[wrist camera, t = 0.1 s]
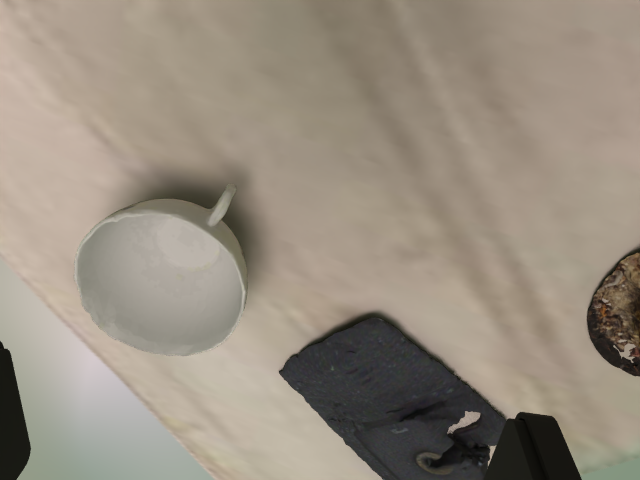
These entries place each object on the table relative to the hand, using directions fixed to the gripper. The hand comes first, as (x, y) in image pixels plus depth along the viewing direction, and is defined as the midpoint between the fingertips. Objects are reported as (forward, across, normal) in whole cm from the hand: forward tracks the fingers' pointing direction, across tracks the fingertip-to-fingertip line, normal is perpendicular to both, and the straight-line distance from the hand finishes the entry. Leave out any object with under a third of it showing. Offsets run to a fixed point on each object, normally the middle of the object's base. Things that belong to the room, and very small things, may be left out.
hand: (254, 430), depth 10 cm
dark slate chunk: (+32, -10, +29) cm, 44 cm away
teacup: (+32, +10, +13) cm, 36 cm away
